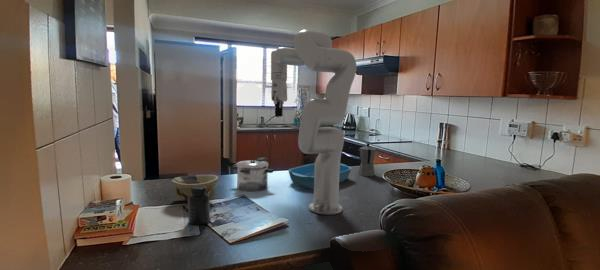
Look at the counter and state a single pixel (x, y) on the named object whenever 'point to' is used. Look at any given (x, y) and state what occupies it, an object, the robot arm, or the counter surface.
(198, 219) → the supplement bottle
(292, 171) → the casserole dish
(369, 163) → the coffeepot
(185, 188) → the bowl
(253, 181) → the pot
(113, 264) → the counter surface
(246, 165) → the lid
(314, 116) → the robot arm
